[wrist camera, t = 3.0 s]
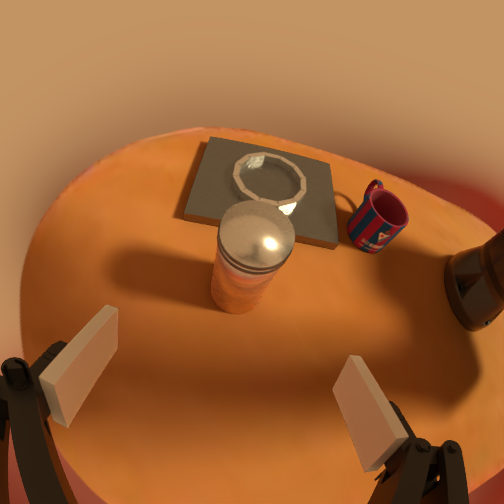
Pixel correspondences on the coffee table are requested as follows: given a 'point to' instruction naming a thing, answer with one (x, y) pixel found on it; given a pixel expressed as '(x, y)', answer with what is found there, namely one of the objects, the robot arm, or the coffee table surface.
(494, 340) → the coffee table surface
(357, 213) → the mug
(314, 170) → the grey base plate
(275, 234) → the disc
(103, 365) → the robot arm
